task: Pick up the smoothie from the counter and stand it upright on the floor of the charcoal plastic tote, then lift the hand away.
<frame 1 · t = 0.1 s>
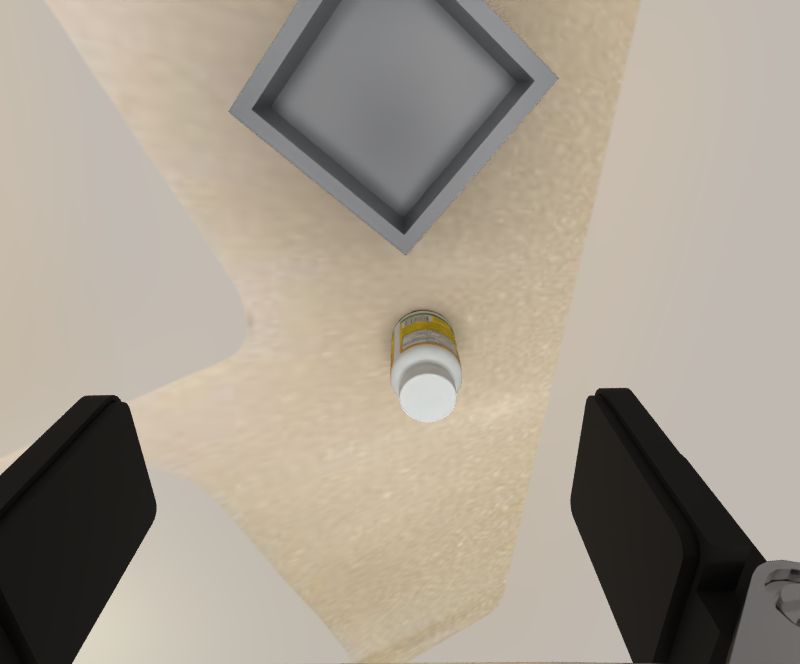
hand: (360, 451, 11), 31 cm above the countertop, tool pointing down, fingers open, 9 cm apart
supplement bottle: (422, 337, 44), on the countertop
tote: (392, 94, 36), on the countertop
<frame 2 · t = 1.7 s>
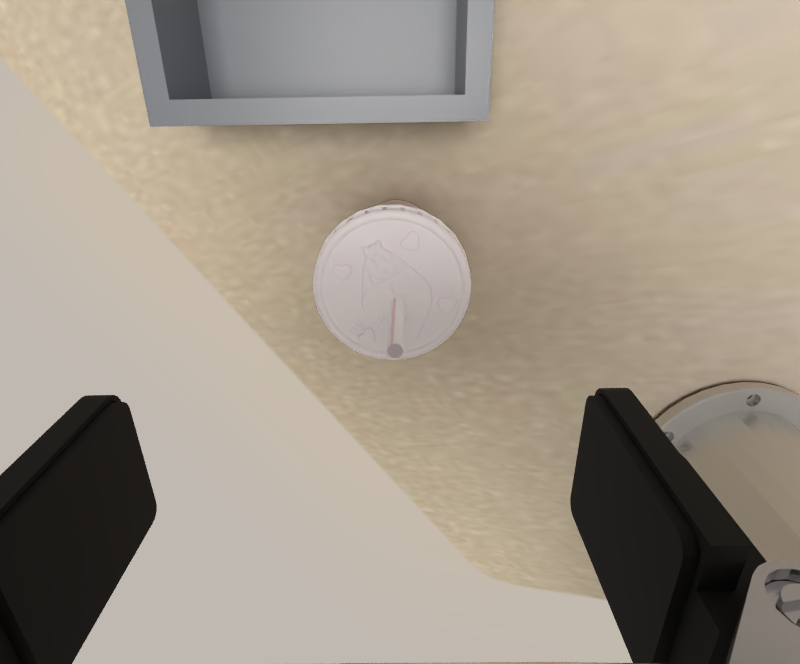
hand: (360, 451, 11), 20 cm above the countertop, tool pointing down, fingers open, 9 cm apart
smoothie: (396, 231, 29), on the countertop
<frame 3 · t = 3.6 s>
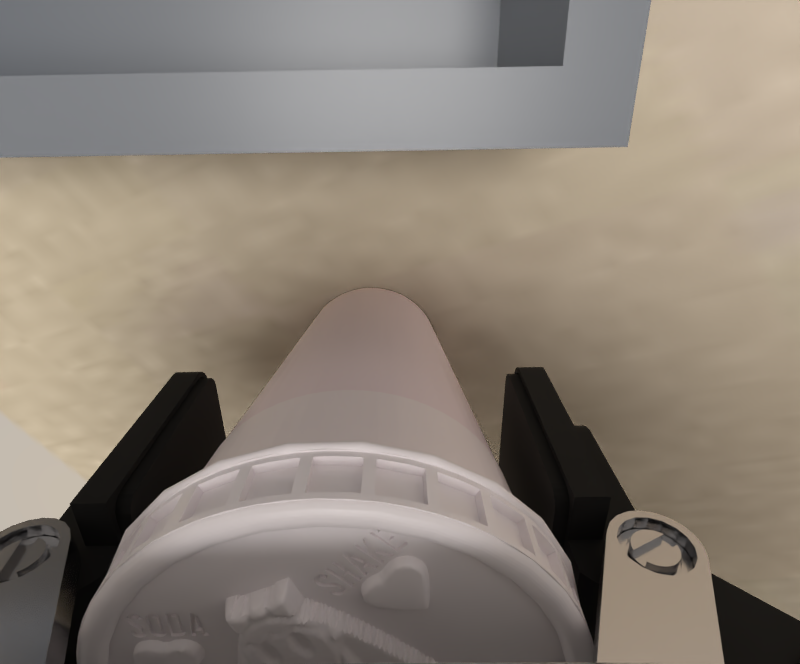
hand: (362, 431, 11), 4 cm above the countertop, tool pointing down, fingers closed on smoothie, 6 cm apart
smoothie: (372, 343, 15), on the countertop, touching gripper
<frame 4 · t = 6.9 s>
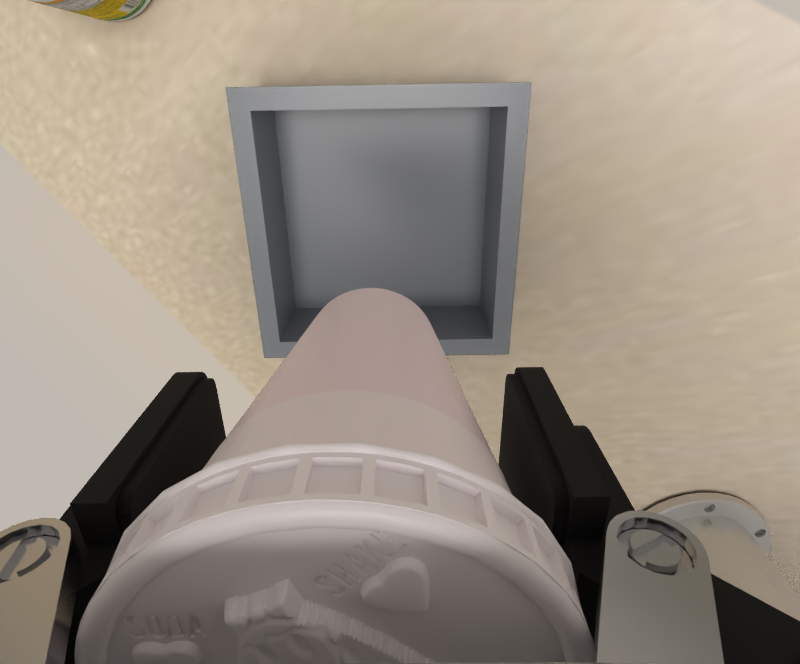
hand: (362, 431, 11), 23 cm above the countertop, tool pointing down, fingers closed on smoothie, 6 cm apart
smoothie: (372, 344, 15), point 18 cm above the countertop, touching gripper
tote: (385, 211, 32), on the countertop
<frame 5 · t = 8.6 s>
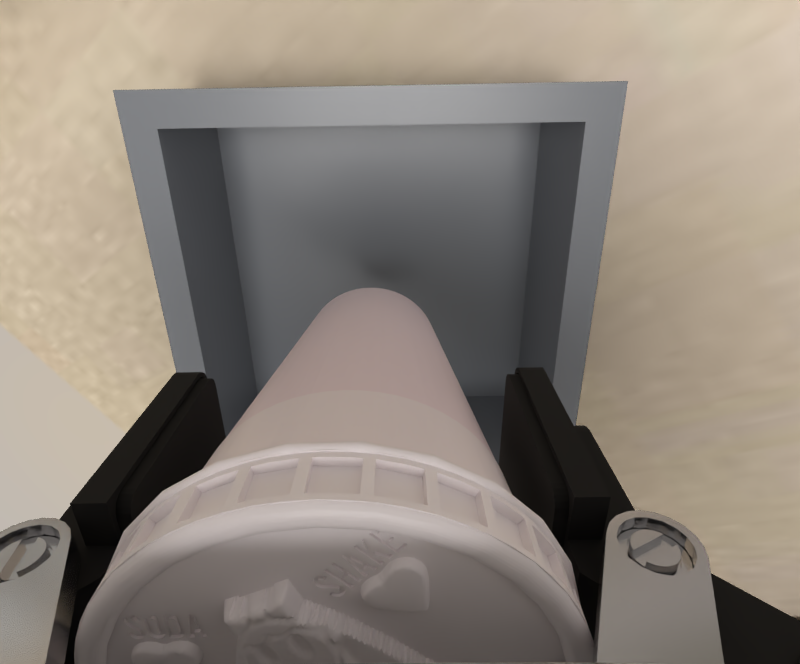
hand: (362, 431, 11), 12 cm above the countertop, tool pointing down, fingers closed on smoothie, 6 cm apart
smoothie: (372, 343, 15), point 8 cm above the countertop, touching gripper
tote: (383, 266, 22), on the countertop
when the fingers open (7 cm above the countertop, at t = 10.2 s): smoothie drops 2 cm, resting on tote.
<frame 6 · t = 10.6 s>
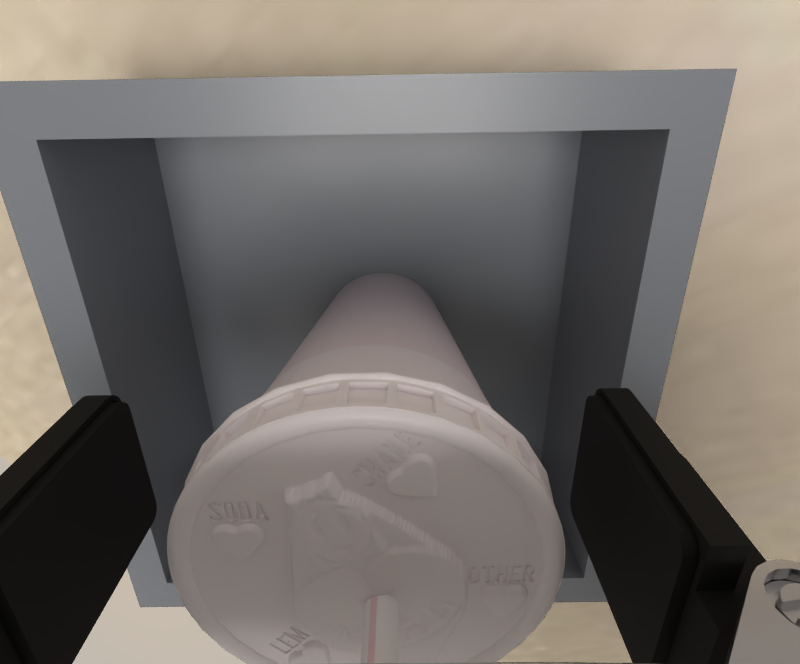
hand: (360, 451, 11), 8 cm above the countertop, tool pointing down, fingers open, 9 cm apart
smoothie: (383, 323, 17), point 1 cm above the countertop, touching tote
tote: (376, 308, 18), on the countertop
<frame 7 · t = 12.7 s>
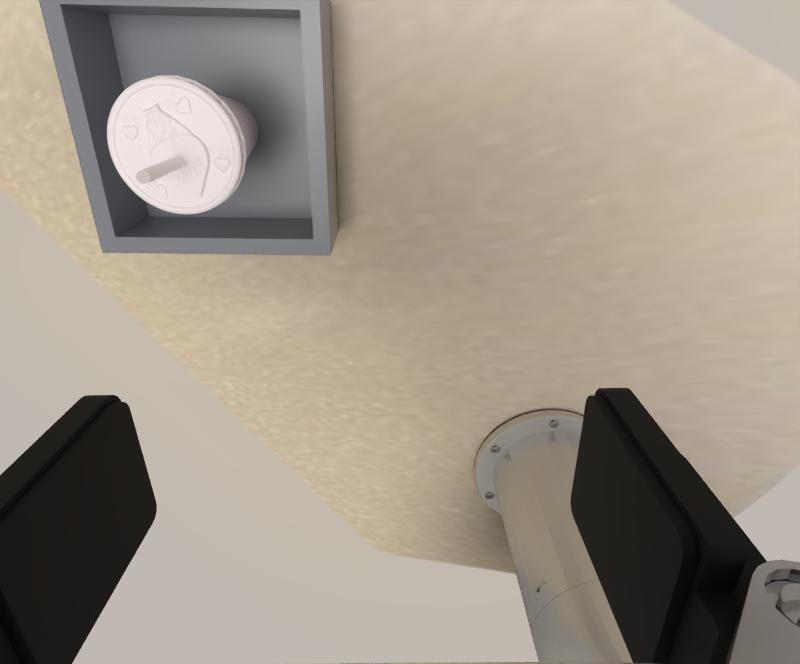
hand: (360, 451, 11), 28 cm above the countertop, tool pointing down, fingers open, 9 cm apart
smoothie: (230, 128, 33), point 1 cm above the countertop, touching tote
tote: (229, 123, 34), on the countertop
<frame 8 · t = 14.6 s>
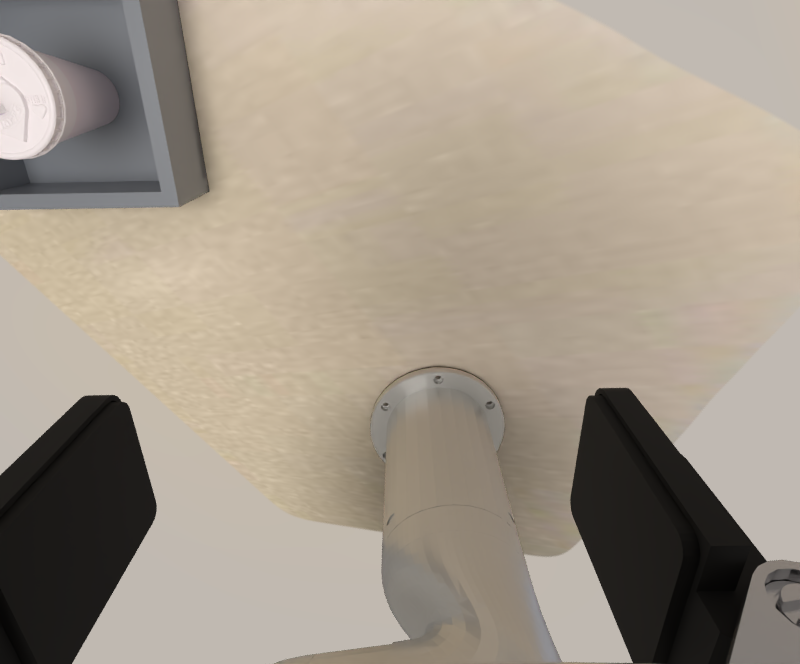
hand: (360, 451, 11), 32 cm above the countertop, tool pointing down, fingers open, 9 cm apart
smoothie: (94, 97, 36), point 1 cm above the countertop, touching tote
tote: (95, 93, 37), on the countertop
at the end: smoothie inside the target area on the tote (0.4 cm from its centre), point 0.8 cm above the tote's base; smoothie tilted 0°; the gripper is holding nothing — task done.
